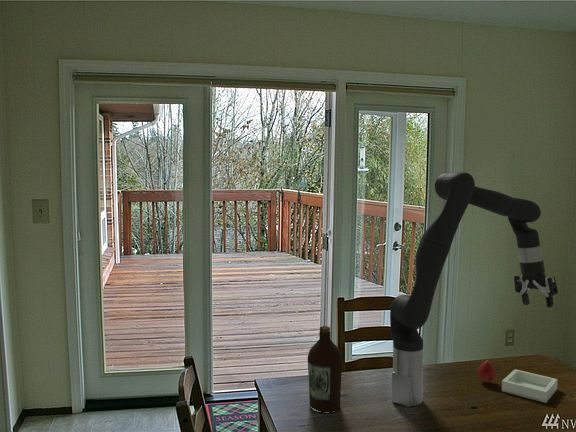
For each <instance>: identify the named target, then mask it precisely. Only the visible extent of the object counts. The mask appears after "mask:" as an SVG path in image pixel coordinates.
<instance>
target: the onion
mask: <svg viewBox="0 0 576 432" xmlns="http://www.w3.org/2000/svg"><path fill="white" fill-rule="evenodd" d="M496 374H497V373H496V368H495V367H494V366H493V365H492V364H491V363H490V362H489V360H488V359H487V360H485V361H484V362H482V363H480V365H479V366H478V368H477V375H478V377H479V378H480V380H482V381H483V382H484V383H486V384H489V383H490V382H491V381H493V380H494V379H495V377H496V376H497V375H496Z"/></svg>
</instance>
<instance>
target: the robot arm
mask: <svg viewBox="0 0 576 432" xmlns="http://www.w3.org/2000/svg"><path fill="white" fill-rule="evenodd" d="M475 183H476V182H475V179H474V177H473V176H472V175H471V174H470V173H468V172H461V171H460V172H458V171H457V172H456V171H452V172H451V171H448V172H444V173H442V174H440V175H438V176H437V178H436V179H435V182H434V191H435V193H436V195H437V196H438V198H441V199H442V200H445V204H444V206H443V208H442V211H441V212H440V214H439V215H438V216H437V218H436V219H434V221H432V222H431V224H430V225H429V226H428V227H427V228H426V230H425V231H424V232H423V234H422V235H421V237H420V238H421V239H420V241H419V243H418V246H417V249H416V252H415V282H414V285H413V288H412V290H411V294H410V295H408V294H400V295H397V296H396V297H395V298H394V299H393V300H392V302H391V304H390V309H389V310H390V312H389V324H390V325H389V326H390V328H389V329H390V336H391V340H392V346H393V347H392V348H393V349H392V373H391V402H392V403H395V404H398V405H402V406H404V407H407V408H411V407H416V406H419V405H421V404H422V403H423V398H424V397H423V391H424V390H423V388H424V387H423V385H424V383H423V381H424V379H423V376H424V373H423V372H424V339H423V338H422V336H421V335H420V333H419V331H418V330H419V329H420V328H422V327H423V326H424V325H425V324H426V323H427V321H428V318H429V316H430V312H431V308H432V304H433V300H434V296H435V293H436V289H437V285H438V284H439V280H440V277H441V274H442V271H443V268H444V266H445V263H446V261H447V258H448V255H449V253H450V250H451V248H452V244H453V241H454V239H455V235H456V233H457V230H458V228H459V225H460V223H461V220H462V219H463V216H464V214H465V213H466V210H467V208H468V205H471V206H474V207H477V208H480V209H482V210H485V211H488V212H490V213H494V214H496V215H499V216H502V217H507V220H508V222H509V224H510V226H511V229H512V231H513V233H514V235H515V239H516V246H517V257H518V261H519V263H518V264H519V268H520V273H521V274H517V275H514V276H513V281H514V282H513V283H514V289H515V290H514V291H515V293H519V294H520V296H521V300H522V301H521V302H522V304H523V305H524V306H528V305H530V298H529V293H528V292H529V291H530V290H539V291H540V292H542V293H543V294H544V296H545V302H546V307H547V308H548V309H549V308H552V307H553V306H554V303H555V302H554V299H553V296H555V295H558V294H559V291H558V286H557V285H558V284H557V280H556V277H555V276H554V275H552V276H546V270H545V269H546V267H545V261H544V256H543V250H542V247H541V242H540V237H539V232H538V230H537V229H535V228H533V227H532V228H531V227H529V226H528V224H527V223H534V222H536V221H538V220H539V218H540V217H541V214H542V211H541V208H540V206H539V205H538V204H537V203H536V202H534V201H531V200H528V199H525V198H524V199H523V198H519V197H512V196H510V195H508V194H505V193H502V192H500V191H496V190H492V189H488V188H485V187H484V188H483V187H480V186H476V185H475Z"/></svg>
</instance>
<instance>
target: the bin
mask: <svg viewBox="0 0 576 432" xmlns="http://www.w3.org/2000/svg"><path fill="white" fill-rule="evenodd" d="M556 391H558V378H553V377H550V376H546V375H541V374H537V373H532V372H528V371H524V370H520V369H516V368H515V369H513V370H512V371H511V372H510V373H509V374H508V375H507V376H505V378H503V379H502V380H501V392H504V393H506V394H511V395H514V396H519V397H522V398H526V399H528V400H529V399H530V400H533V401H536V402H537V401H538V402H541V403H544V404H547V403H548V402H549V400H550V399H551V398H552V397H553V396H554V394H555V393H556Z"/></svg>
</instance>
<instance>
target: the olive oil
mask: <svg viewBox="0 0 576 432" xmlns="http://www.w3.org/2000/svg"><path fill="white" fill-rule="evenodd" d="M318 335H319V339H318V340H317V341H316V342H315V343H314V345H312V346H311V348H310V349H309V350H308V354H307V369H308V370H307V371H308V372H307V374H308V391H309V392H308V393H309V395H308V396H309V407H310V406H311V407H312V408H314V409H316V410H318V411H321V412H333V411H336V410H338V409H339V408H340V409H341V395H342V392H341V390H342V373H343V372H342V371H343V356H342V351H341V350H340V348H339V347H338V346H337V345H336V344H335V343H334V342H333V341H332V339H331V327H330V326H328V325H327V326H326V325H322V326H320V327H319V333H318ZM340 409H339V410H340ZM339 410H338V411H339ZM336 412H337V411H336ZM333 413H334V412H333Z"/></svg>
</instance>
